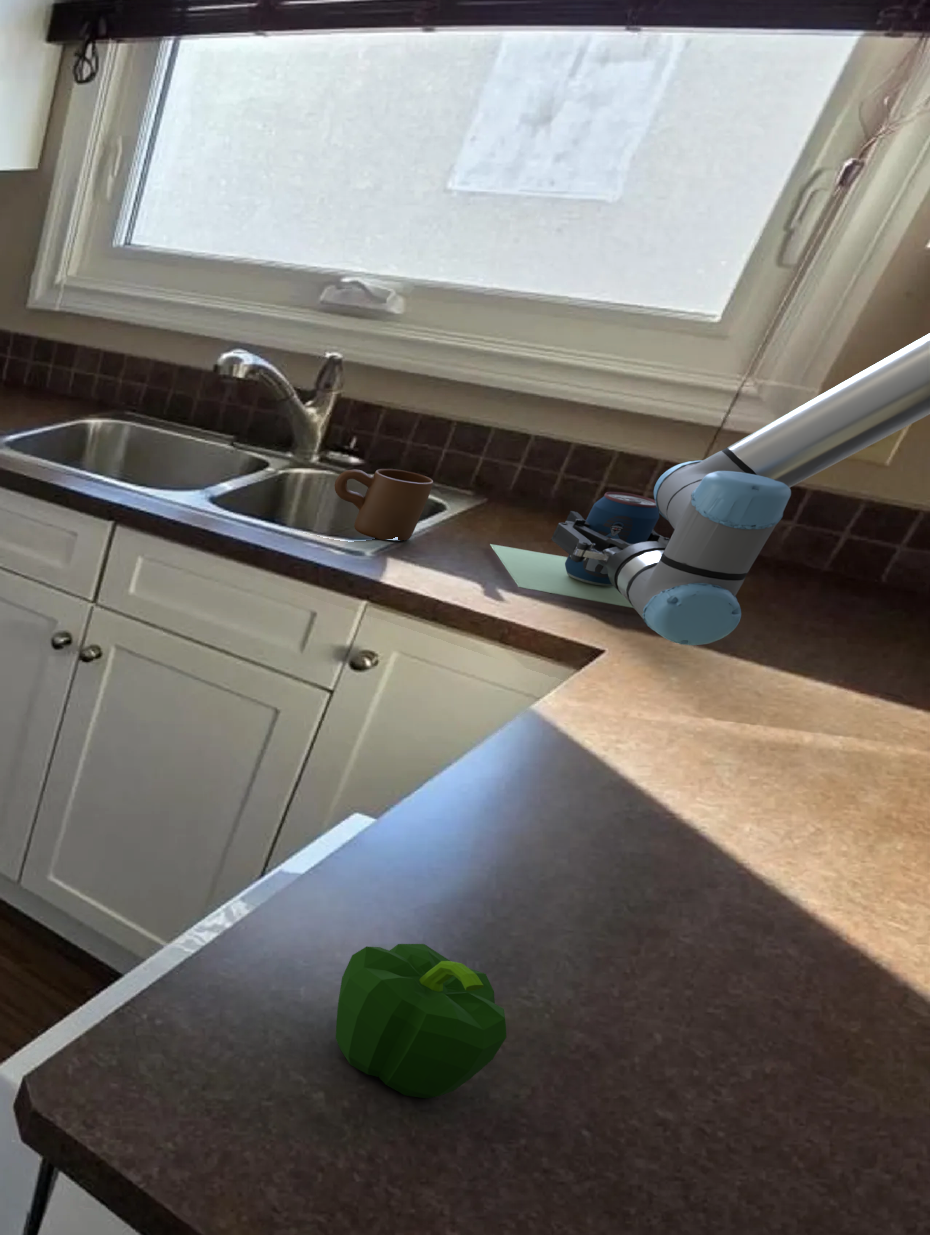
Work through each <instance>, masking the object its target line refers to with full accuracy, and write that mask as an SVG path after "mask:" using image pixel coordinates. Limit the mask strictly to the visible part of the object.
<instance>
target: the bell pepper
mask: <svg viewBox="0 0 930 1235" xmlns="http://www.w3.org/2000/svg"><path fill="white" fill-rule="evenodd" d="M337 1001H338V1002H337V1009H336V1010H337V1011H336V1021H335V1022H336V1023H335V1024H336V1025H335V1027H336V1028H335V1040H336V1043H337V1045H338V1048H339V1050H340V1051H341V1053H342V1054H343V1056H344V1057H345V1059H346V1061H347V1062H348V1064H349V1065H350V1066H352V1067H354V1068H355V1069H357V1070H358V1071H360V1072H362V1073H364V1074H366V1075H368V1076H373V1077H376V1078H379V1079H380V1080H381V1081H382V1083H383V1084H385V1086H387V1087H389V1088H391V1089H392V1090H395V1091H397V1092H398V1093H400V1094H401V1095H404V1096H407V1097H413V1098H421V1099H431V1098H436V1097H437V1098H438V1097H441V1096H443V1095H446V1094H449V1093H452V1092H454V1091H456V1090H457V1089H459V1087H461V1086H463V1085H464V1084H465V1083H467V1082H468V1081H469V1080H470V1079H472V1078H473V1077H474V1076H476V1075H477V1074H478V1073H479V1072H480V1071H481V1070H483V1068H485V1067H486V1066H488V1064H489V1063H490V1062H492V1061H493V1060H494V1058H495V1056H496V1055H497V1053H498V1052H499V1050H500V1048H501V1047H502V1045H503V1044H504V1042H505V1040H506V1039H507V1022H506V1015H505V1014H506V1013H505V1008H503V1007H502V1006H500V1005H498V1004H496V1002H495V1001H496V999H495V990H494V988H493V986H492V984H491V982H490V979H489V977H488V975H487V973H485V972H482V971H479V970H476V969H473V968H471V967H468V966H466V965H465V964H464V963H462V962H457V961H451V960H450V959H448V958H447V957H445V956H444V955H442V954H441V953H440V952H438V951H436V950H434V949H433V948H431V947H430V946H428V945H426V944H425V943H397V944H396V945H395V946H394V947H392V948H391V949H390V950H389V949H386V948H383V947H381V946H364V947H363V948H361V949H360V950H358V951H356V952H355V953H354V954H352V955H351V957H350V959H349V961H348V963H347V966H346V968H345V970H344V972H343V975H342V977H341V983H340V988H339V993H338V1000H337Z"/></svg>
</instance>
